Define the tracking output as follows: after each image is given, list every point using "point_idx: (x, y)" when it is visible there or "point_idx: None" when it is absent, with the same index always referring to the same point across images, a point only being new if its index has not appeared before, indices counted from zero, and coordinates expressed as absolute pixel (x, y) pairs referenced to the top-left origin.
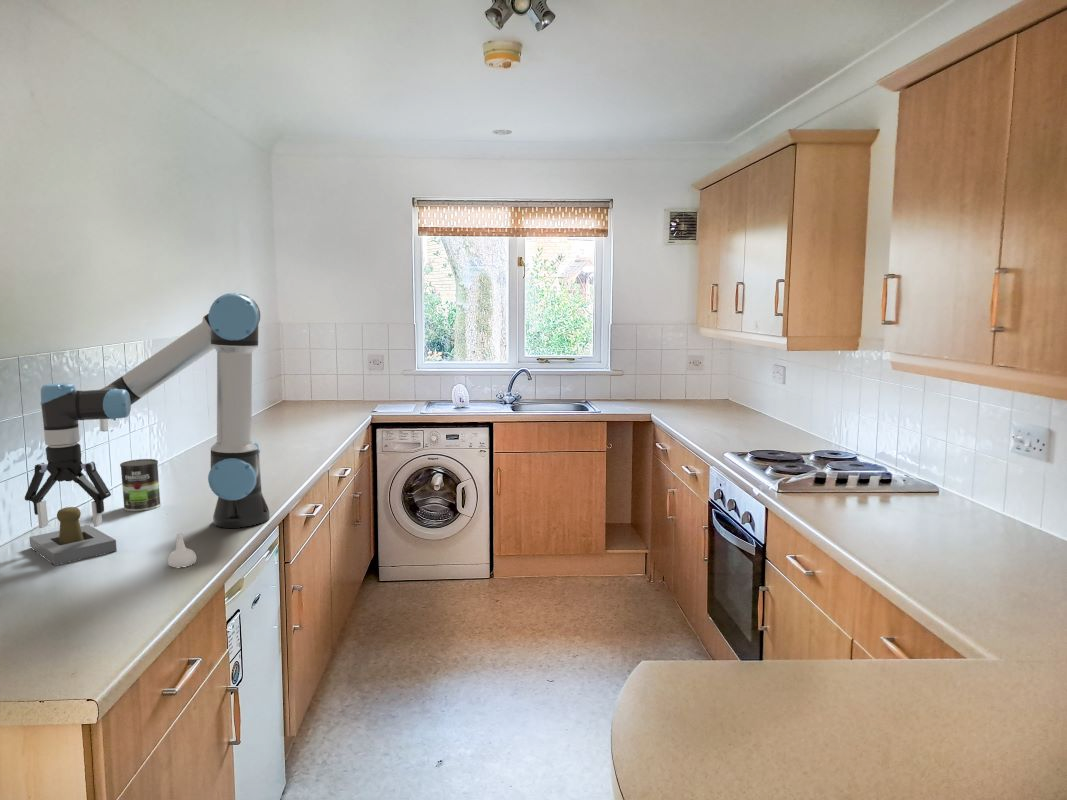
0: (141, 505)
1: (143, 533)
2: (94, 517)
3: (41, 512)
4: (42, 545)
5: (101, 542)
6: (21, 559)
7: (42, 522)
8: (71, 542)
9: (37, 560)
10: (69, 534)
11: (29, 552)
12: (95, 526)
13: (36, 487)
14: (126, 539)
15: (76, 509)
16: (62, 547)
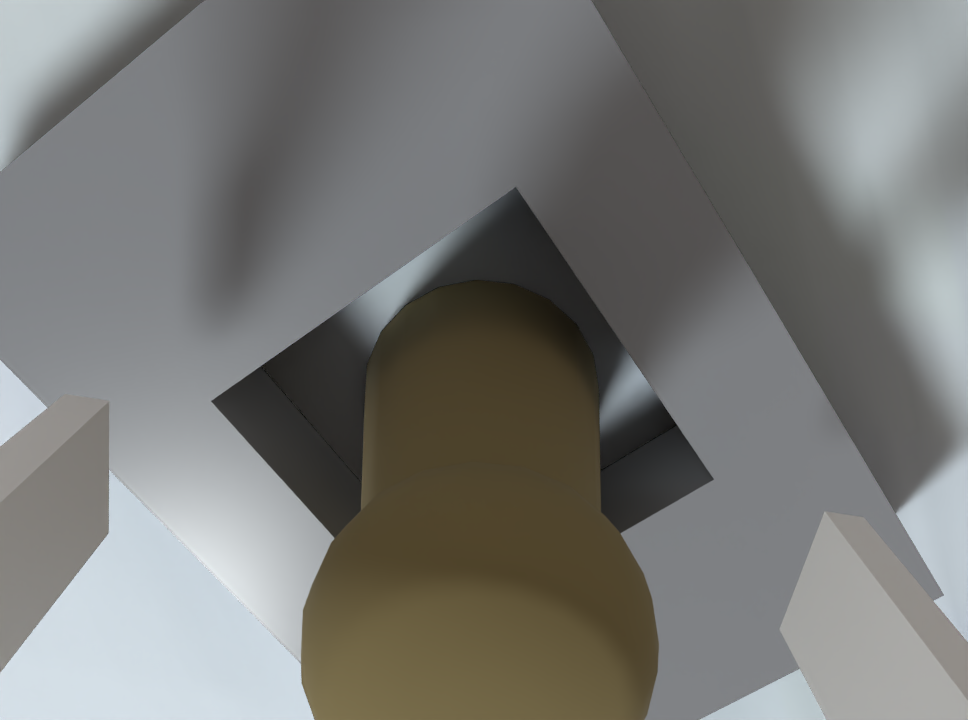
0: None
1: (11, 705)
2: (2, 466)
3: (934, 690)
4: (725, 241)
5: (25, 182)
6: (893, 192)
7: (851, 575)
8: (439, 334)
9: (722, 111)
10: (452, 378)
11: (865, 403)
12: (77, 397)
13: None
14: (83, 578)
15: (323, 682)
16: (447, 82)
